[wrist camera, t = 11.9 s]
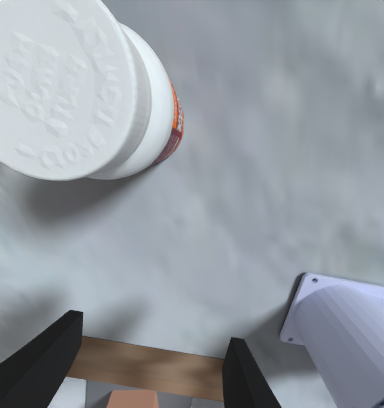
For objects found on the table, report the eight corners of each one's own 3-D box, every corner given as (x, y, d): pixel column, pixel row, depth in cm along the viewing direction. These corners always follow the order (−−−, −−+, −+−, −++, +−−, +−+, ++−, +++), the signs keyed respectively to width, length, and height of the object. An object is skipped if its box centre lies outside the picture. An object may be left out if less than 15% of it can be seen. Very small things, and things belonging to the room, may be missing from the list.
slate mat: (197, 374, 23) (197, 378, 23) (179, 441, 27) (179, 446, 26) (90, 356, 23) (88, 360, 23) (85, 427, 26) (84, 431, 26)
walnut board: (238, 362, 23) (244, 393, 20) (235, 372, 23) (240, 404, 20) (54, 331, 22) (32, 359, 19) (53, 342, 23) (33, 371, 20)
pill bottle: (201, 128, 16) (209, 100, 5) (143, 179, 17) (55, 238, 7) (146, 58, 15) (14, -162, 4) (88, 118, 16) (-130, 68, 5)
